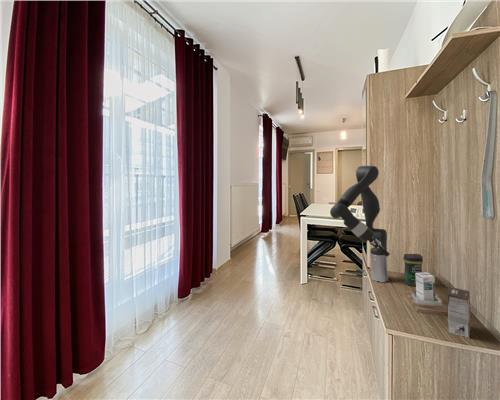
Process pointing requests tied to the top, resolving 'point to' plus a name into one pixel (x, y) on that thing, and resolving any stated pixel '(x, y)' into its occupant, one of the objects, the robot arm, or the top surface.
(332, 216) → the robot arm
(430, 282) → the syrup box
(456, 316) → the coffee box
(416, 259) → the coffee jar
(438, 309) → the carrier board
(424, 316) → the top surface
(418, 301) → the socket collar
